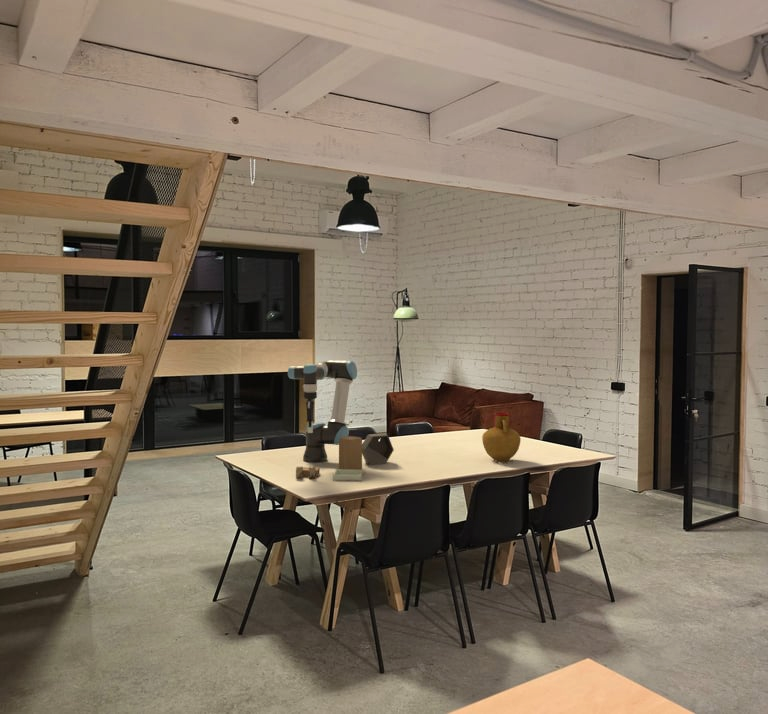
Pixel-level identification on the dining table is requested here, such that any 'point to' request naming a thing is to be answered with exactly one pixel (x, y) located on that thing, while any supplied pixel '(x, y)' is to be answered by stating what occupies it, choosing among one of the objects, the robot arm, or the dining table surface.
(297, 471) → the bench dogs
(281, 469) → the dining table surface
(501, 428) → the vase
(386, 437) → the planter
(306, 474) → the wooden book-shaped slab
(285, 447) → the dining table surface
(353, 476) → the tray
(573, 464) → the dining table surface
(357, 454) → the block
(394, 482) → the dining table surface
